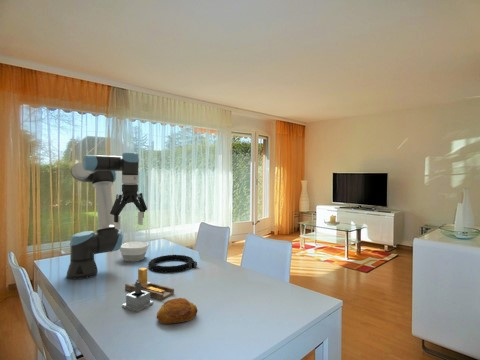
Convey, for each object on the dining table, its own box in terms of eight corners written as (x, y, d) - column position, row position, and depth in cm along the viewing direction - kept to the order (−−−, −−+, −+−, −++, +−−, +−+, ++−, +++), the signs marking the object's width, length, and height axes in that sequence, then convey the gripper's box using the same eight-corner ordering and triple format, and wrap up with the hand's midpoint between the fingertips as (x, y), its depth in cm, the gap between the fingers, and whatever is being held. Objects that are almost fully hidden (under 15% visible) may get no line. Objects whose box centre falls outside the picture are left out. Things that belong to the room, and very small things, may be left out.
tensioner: (134, 287, 142) (134, 269, 142) (142, 284, 146) (142, 266, 146) (158, 294, 134) (158, 275, 134) (166, 290, 139) (166, 271, 138)
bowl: (143, 263, 185) (143, 248, 185) (115, 262, 185) (115, 247, 185) (151, 255, 203) (151, 241, 203) (126, 254, 203) (126, 241, 203)
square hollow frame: (125, 304, 124) (125, 294, 124) (138, 298, 131) (138, 289, 130) (137, 308, 121) (137, 298, 121) (150, 301, 127) (150, 292, 127)
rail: (125, 289, 143) (125, 284, 143) (138, 284, 150) (138, 279, 150) (161, 300, 131) (161, 294, 131) (173, 293, 138) (174, 288, 138)
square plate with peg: (122, 306, 124) (122, 283, 124) (138, 299, 132) (139, 277, 132) (137, 312, 120) (137, 287, 120) (153, 303, 128) (153, 280, 127)
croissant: (197, 328, 112) (200, 308, 112) (155, 328, 108) (158, 306, 108) (193, 310, 126) (196, 292, 126) (156, 309, 122) (159, 290, 121)
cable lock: (161, 252, 197) (203, 255, 191) (161, 258, 197) (203, 261, 191) (139, 265, 170) (187, 269, 164) (139, 271, 170) (187, 275, 164)
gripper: (113, 185, 131) (112, 232, 132) (154, 183, 153) (153, 223, 154) (102, 184, 135) (101, 230, 136) (144, 182, 156) (143, 222, 157)
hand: (129, 226), depth 145 cm, fingers open, 13 cm apart
